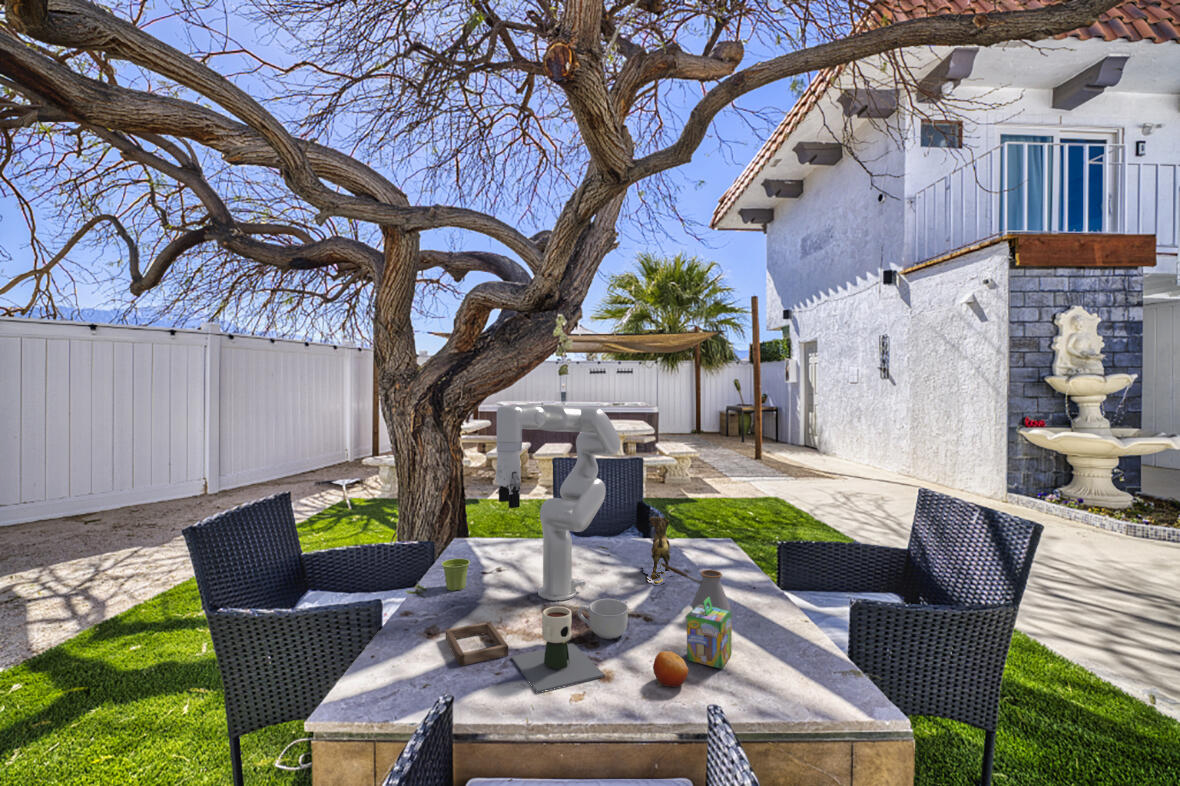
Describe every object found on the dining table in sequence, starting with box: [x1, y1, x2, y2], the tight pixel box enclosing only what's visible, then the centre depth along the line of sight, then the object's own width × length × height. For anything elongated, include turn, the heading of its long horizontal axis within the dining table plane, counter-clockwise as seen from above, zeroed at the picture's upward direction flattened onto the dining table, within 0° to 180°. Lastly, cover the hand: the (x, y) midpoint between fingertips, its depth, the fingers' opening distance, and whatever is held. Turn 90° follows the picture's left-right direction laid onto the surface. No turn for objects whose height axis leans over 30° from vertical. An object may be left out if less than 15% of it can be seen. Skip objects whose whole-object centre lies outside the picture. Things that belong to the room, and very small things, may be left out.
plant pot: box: [441, 558, 471, 592], centre depth 191 cm, size 9×9×9 cm
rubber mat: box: [511, 642, 605, 694], centre depth 137 cm, size 17×18×1 cm
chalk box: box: [686, 596, 733, 670], centre depth 142 cm, size 9×9×15 cm
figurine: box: [647, 516, 671, 584], centre depth 206 cm, size 13×25×20 cm, turn 171°
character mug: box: [541, 606, 573, 669], centre depth 137 cm, size 11×7×13 cm, turn 158°
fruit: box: [652, 650, 689, 688], centre depth 130 cm, size 8×8×8 cm
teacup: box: [577, 598, 629, 640], centre depth 156 cm, size 14×11×8 cm
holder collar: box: [445, 621, 509, 667], centre depth 147 cm, size 12×16×2 cm
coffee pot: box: [659, 562, 731, 611], centre depth 169 cm, size 21×12×15 cm, turn 79°
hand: (508, 504), depth 167 cm, fingers open, 9 cm apart
